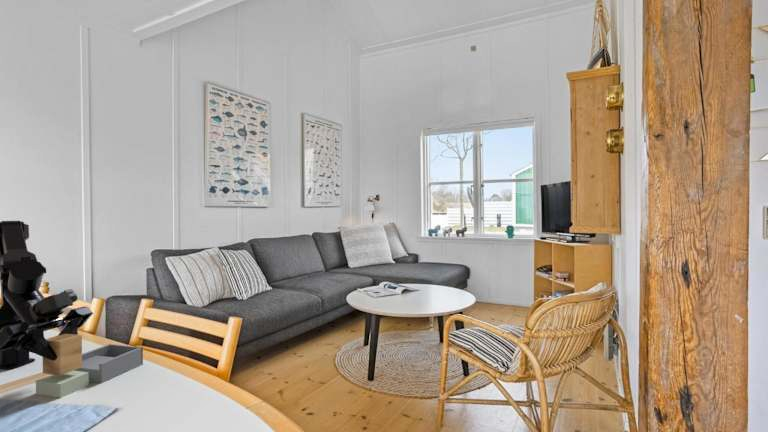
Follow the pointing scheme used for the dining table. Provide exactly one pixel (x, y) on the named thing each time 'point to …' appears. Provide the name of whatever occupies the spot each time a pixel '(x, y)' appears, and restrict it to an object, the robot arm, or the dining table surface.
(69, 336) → the oak pillar
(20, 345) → the robot arm
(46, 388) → the step
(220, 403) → the dining table surface
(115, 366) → the tray
